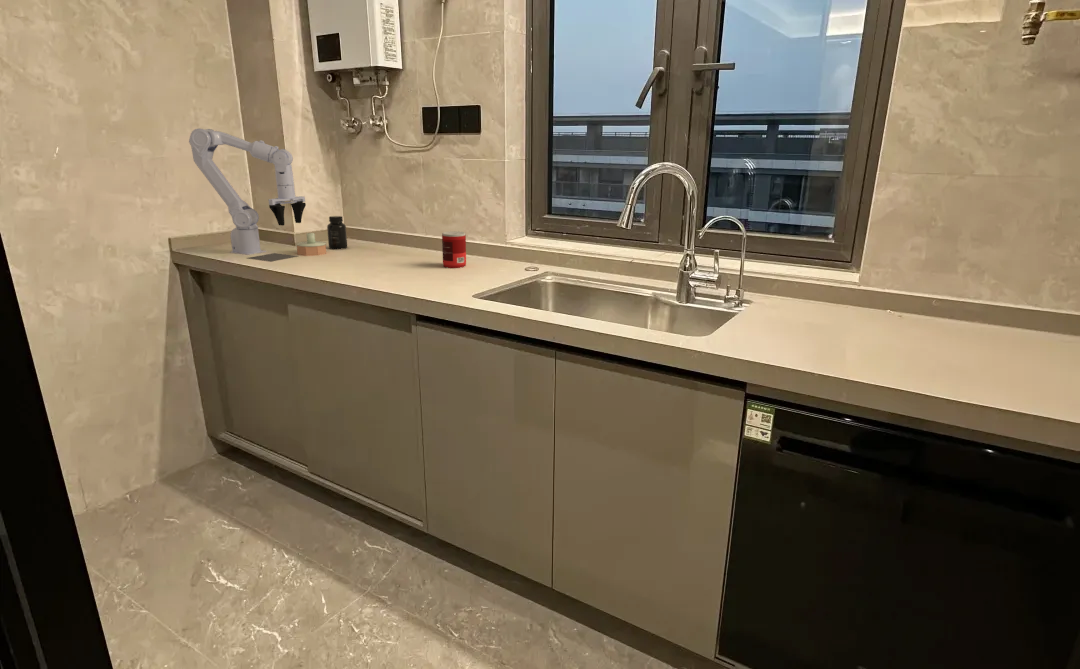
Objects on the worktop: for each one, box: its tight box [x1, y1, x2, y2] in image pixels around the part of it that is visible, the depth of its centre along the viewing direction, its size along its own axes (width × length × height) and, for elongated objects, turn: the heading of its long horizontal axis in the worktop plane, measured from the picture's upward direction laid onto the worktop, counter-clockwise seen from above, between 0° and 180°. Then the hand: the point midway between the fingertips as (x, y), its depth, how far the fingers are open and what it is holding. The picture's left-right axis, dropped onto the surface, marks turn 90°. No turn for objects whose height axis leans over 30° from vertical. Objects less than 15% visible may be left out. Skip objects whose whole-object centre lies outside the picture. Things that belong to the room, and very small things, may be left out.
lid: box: [296, 232, 327, 247], centre depth 222 cm, size 10×10×4 cm
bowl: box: [296, 244, 327, 257], centre depth 223 cm, size 10×10×4 cm
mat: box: [246, 252, 300, 262], centre depth 214 cm, size 12×12×1 cm
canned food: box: [441, 231, 467, 269], centre depth 205 cm, size 8×8×11 cm
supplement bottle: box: [326, 215, 348, 250], centre depth 235 cm, size 7×7×12 cm
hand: (290, 224), depth 222 cm, fingers open, 7 cm apart
